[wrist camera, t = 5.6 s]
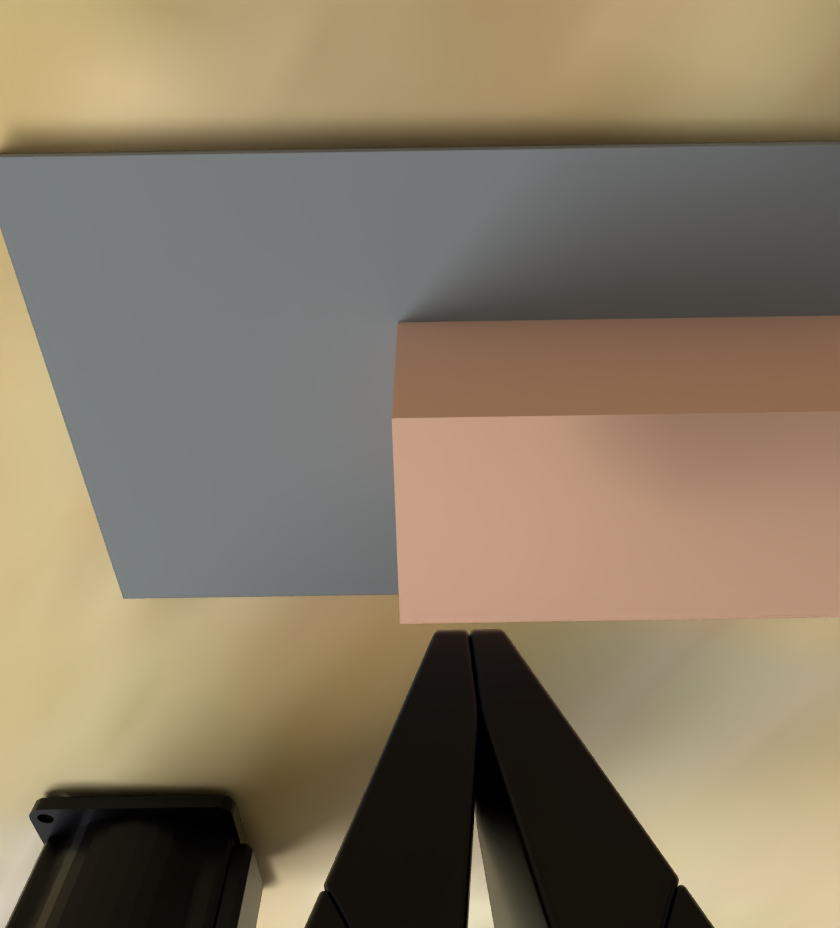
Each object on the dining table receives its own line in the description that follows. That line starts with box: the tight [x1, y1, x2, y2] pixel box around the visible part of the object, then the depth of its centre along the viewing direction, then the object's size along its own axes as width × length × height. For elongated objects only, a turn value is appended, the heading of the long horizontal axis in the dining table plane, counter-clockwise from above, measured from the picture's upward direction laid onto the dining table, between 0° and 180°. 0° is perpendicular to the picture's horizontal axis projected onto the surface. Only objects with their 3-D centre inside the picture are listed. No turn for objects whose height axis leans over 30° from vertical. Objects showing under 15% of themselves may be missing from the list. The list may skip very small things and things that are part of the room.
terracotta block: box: [392, 316, 840, 624], centre depth 12 cm, size 4×4×9 cm
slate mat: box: [0, 141, 840, 599], centre depth 14 cm, size 16×10×1 cm, turn 91°
